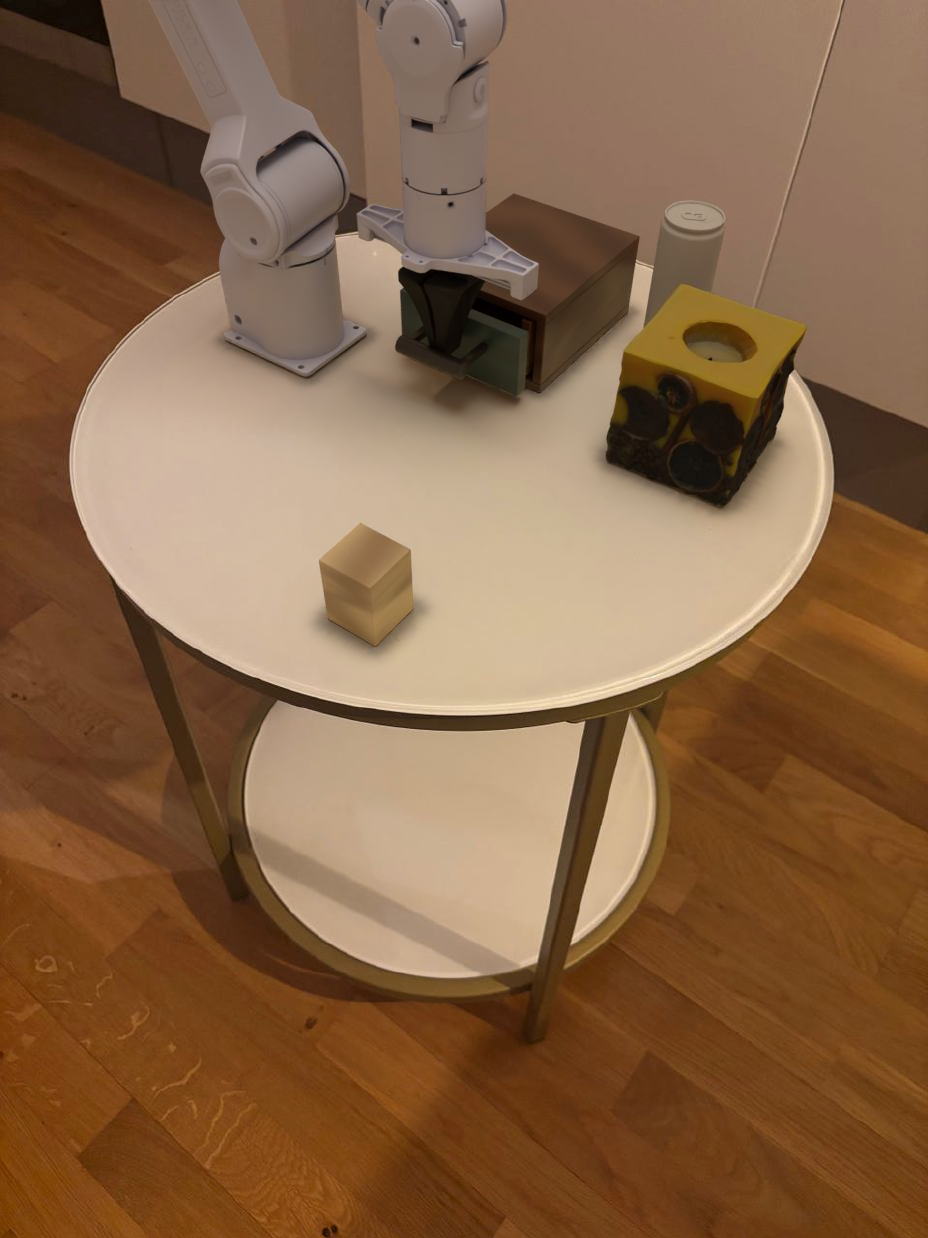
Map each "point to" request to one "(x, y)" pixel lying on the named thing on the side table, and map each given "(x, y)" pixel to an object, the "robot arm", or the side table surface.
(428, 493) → the side table surface
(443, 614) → the side table surface
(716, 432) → the candle
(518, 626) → the side table surface
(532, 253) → the cabinet
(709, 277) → the beverage can
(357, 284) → the side table surface
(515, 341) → the drawer
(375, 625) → the block
